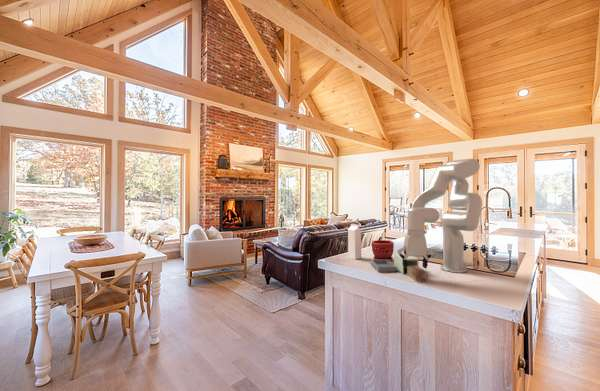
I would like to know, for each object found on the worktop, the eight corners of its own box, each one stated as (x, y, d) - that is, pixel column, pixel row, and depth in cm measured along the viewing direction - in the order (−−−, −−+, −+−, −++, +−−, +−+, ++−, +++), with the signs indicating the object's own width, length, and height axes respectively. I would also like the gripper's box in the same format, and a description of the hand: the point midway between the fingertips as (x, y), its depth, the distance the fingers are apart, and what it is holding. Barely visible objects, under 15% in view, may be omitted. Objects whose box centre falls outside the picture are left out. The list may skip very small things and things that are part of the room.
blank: (416, 275, 134) (416, 265, 134) (426, 281, 124) (426, 271, 124) (407, 275, 134) (407, 265, 134) (415, 281, 124) (415, 271, 124)
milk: (355, 259, 165) (354, 225, 165) (348, 257, 170) (347, 224, 170) (361, 258, 169) (361, 224, 169) (354, 256, 174) (353, 223, 173)
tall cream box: (408, 267, 148) (408, 253, 148) (418, 273, 136) (418, 258, 136) (394, 267, 148) (393, 253, 148) (402, 273, 136) (402, 259, 136)
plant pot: (395, 259, 165) (395, 240, 165) (391, 264, 154) (390, 244, 154) (375, 256, 172) (375, 238, 172) (369, 261, 161) (368, 242, 160)
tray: (387, 264, 154) (387, 259, 154) (396, 271, 139) (396, 266, 139) (370, 264, 154) (370, 259, 154) (378, 272, 139) (378, 267, 139)
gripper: (429, 232, 132) (428, 265, 132) (395, 231, 132) (394, 265, 132) (436, 234, 125) (436, 270, 125) (401, 233, 125) (400, 269, 125)
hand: (414, 267), depth 129 cm, fingers open, 9 cm apart
